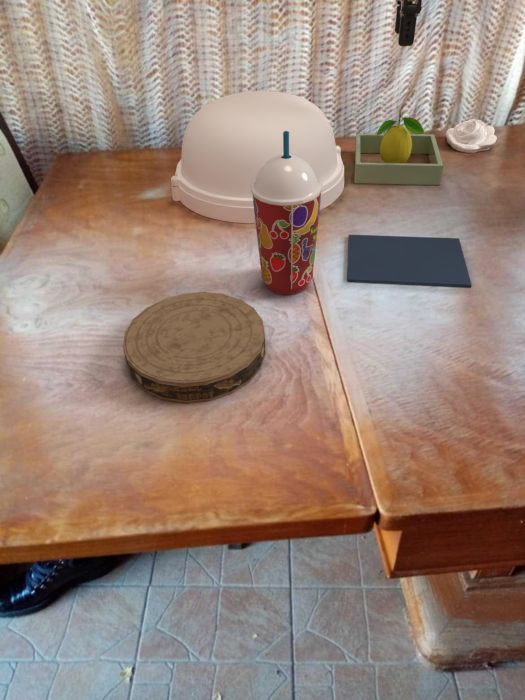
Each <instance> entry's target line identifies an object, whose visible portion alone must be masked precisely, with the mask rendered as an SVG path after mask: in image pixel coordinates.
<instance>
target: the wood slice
mask: <svg viewBox="0 0 525 700" xmlns="http://www.w3.org/2000/svg"><path fill="white" fill-rule="evenodd" d="M264 326H265V325H264V321H263V319H262V317H261V316H260V314H259V313H258V311H257V310H256V309H255V307H253V306H251V305H250V304H249V303H247V302H245V301H244V300H243V299H240V298H239V297H238V298H237V297H234V296H233V295H232V296H231V295H228V294H225V293H219V292H209V291H199V292H187V293H182V294H177V295H174V296H170V297H166V298H164V299H161V300H159V301H157V302H154V303H153V304H151V305H148V306H147V307H146V308H144V309H143V310H142V311H140V313H138V314H137V315H136V316H135V317H133V319H132V320H131V322H130V323H129V324H128V326H127V327H126V329H125V331H124V335H123V341H122V350H123V353H124V357H125V360H126V364H127V368H128V370H129V373H130V376H131V379H132V381H133V382H134V383H135V384H136V385H137V386H138V387H139V388H141V390H142V391H143V392H145V393H146V394H149V395H150V396H153V397H155V398H158V399H160V400H163V401H166V402H167V401H168V402H172V403H181V404H193V403H203V402H211V401H215V400H217V399H220V398H223V397H227V396H229V395H232V394H233V393H235V392H237V391H238V390H240V389H241V388H243V387H245V386H246V385H248V384H249V383H250V382H251V381H252V380H253V378H254V377H256V376H257V374H258V372H260V371H261V369H262V366H263V364H264V360H265V357H266V333H265V327H264Z"/></svg>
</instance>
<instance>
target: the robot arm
mask: <svg viewBox="0 0 525 700" xmlns="http://www.w3.org/2000/svg"><path fill="white" fill-rule="evenodd" d="M422 2H423V0H395V3H396V13H395V24H394V33H395V34H398V39H397V43H398V45H399V46H400V47H411V46H413V45H414V42H415V35H416V27H417V20H418V17H419V15H420V14H421V11H422V8H423V5H422V4H423V3H422Z"/></svg>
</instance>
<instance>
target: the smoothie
mask: <svg viewBox="0 0 525 700" xmlns="http://www.w3.org/2000/svg"><path fill="white" fill-rule="evenodd" d="M251 192H252V194H253V205H254V214H255V222H256V223H255V231H256V237H257V238H256V239H257V240H256V241H257V248H258V256H259V263H260V270H261V271H260V273H261V278H262V280H263V282H264V283H265V284H266V287H267V289H269V290H270V291H272V292H273V293H276V294H279V295H294V294H298V293H301V292H303V291H304V290H305V289H307V288H308V285H309V283H310V282H311V280H312V278H313V276H314V269H315V268H314V267H315V260H316V259H315V258H316V249H317V238H318V228H319V220H320V219H319V218H320V211H321V210H320V200H321V192H322V183H321V182H320V181H319V180H318V177H317V175H316V173H315V171H314V169H313V168H312V167H311V165H310V164H309V163H308V162H307V161H306V160H304V159H302V158H301V157H298V156H295V155H291V154H289V131H284V132H283V155H279V156H276V157H273V158H272V159H270V160H268V161H267V162H266V163H265V164H264V165H263V166H262V168H261V169H260V170H259V172H258V174H257V176H256V179H255V181H254V182H253V184H252V186H251Z"/></svg>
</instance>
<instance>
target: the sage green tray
mask: <svg viewBox="0 0 525 700" xmlns="http://www.w3.org/2000/svg"><path fill="white" fill-rule="evenodd" d="M376 134H377V133H355V142H354V143H355V144H354V170H353V172H354V175H353V183H354V184H365V185H366V184H367V185H368V184H371V185H372V184H374V185H411V186H412V185H413V186H415V185H416V186H440V185H441V179H442V175H443V170H444V169H443V168H444V164H443V161H442V157H441V154H440V150H439V147H438V143H437V139H436V135H435V134H433V133H432V134H430V133H429V134H427V133H424V134H416V133H410V135H411V139H412V150H411V154H410V155H427V158H428V162H429V163H410V162H409V163H408V162H404V163H386V162H362V161H361V154H380V146H381V141H382V138H383V136H384V134H385V133H382V134H380V135H376Z"/></svg>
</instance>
